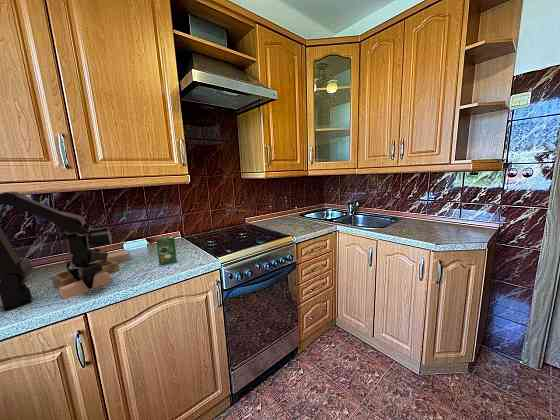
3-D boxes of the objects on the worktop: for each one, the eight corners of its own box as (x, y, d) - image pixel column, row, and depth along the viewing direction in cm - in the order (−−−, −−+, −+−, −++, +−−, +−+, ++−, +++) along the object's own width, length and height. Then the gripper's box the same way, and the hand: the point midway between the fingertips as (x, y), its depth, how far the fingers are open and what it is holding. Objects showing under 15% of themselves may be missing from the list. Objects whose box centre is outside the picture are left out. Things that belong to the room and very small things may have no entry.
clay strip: (64, 300, 84) (62, 289, 83) (60, 297, 86) (58, 287, 85) (111, 282, 97) (109, 273, 96) (107, 280, 98) (105, 271, 98)
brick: (130, 256, 127) (128, 248, 126) (131, 260, 120) (129, 252, 120) (91, 264, 118) (90, 255, 117) (90, 269, 111) (88, 260, 110)
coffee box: (177, 260, 117) (174, 235, 115) (177, 262, 114) (173, 237, 112) (160, 263, 114) (156, 237, 112) (159, 265, 112) (155, 239, 109)
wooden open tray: (63, 290, 91) (61, 281, 90) (53, 284, 96) (50, 275, 96) (119, 270, 108) (118, 262, 107) (107, 266, 113) (106, 258, 113)
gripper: (114, 245, 90) (120, 282, 93) (93, 239, 100) (99, 273, 103) (79, 254, 81) (87, 295, 84) (59, 247, 90) (67, 284, 93)
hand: (86, 286), depth 91 cm, fingers open, 7 cm apart
